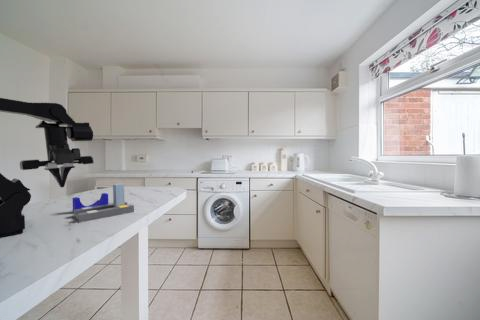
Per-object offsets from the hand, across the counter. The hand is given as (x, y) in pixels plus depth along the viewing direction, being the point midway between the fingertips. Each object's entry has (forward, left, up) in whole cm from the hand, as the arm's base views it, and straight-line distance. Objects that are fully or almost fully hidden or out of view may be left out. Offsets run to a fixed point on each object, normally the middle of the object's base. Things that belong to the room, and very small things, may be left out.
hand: (62, 187), depth 76 cm
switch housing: (+13, 0, -12) cm, 18 cm away
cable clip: (+11, +12, -12) cm, 20 cm away
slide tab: (+18, 0, -11) cm, 21 cm away
